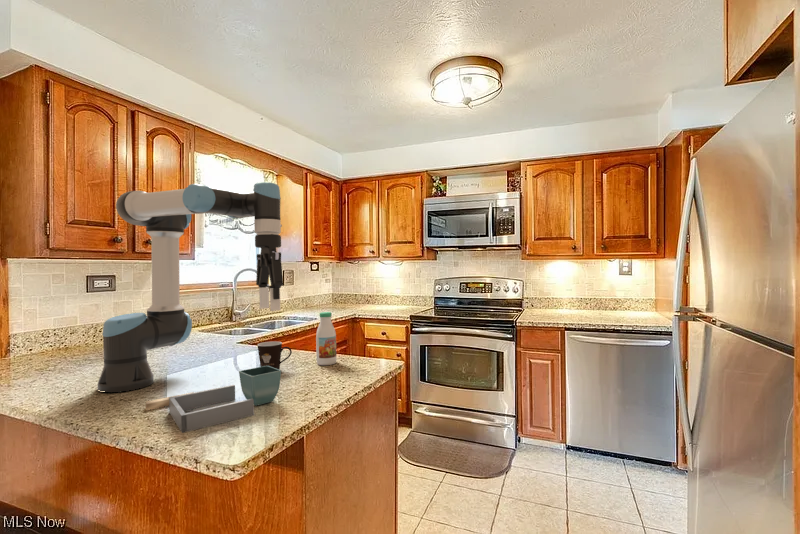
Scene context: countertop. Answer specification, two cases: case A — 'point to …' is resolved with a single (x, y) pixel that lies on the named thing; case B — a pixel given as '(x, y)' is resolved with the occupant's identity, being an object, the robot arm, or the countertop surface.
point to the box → (210, 414)
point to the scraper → (159, 402)
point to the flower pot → (260, 384)
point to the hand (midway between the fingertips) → (269, 309)
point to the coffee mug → (271, 354)
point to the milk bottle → (326, 340)
